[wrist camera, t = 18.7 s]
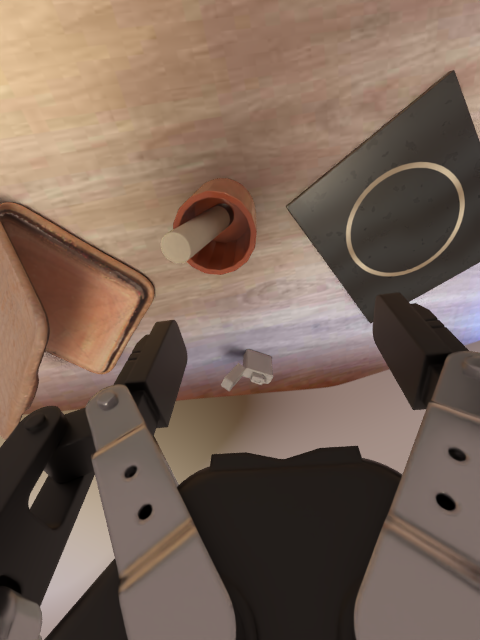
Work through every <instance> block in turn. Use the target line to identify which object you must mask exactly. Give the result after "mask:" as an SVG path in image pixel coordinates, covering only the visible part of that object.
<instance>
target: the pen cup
mask: <svg viewBox="0 0 480 640" xmlns="http://www.w3.org/2000/svg"><path fill="white" fill-rule="evenodd" d="M221 203H223V204H227V205H228V206H229V207H230V208H231V209H232V211H233V213H234V219H233V222H232V224H231V225H230V226H228V227H227V228H226V229H225V230H224V231H222V232H221V233H220V234H219V235H218V236H216V237H215V238H214V239H213V240H212V241H211V242H209V243H208V244H207V245H206V246H205V247H203V248H202V249H201V250H200V251H199V252H197V253H196V254H195V255H194V256H193V257H191V258H190V259H189V260H188V261H187V262H188V263H189V264H190V265H191V266H192V267H194V268H196V269H198V270H200V271H202V272H204V273H208V274H218V275H222V274H225V273H229V272H232V271H235V270H237V269H238V268H239V267H241V266H242V265H243V264H245V263H246V262H247V261H248V259H249V257H250V256H251V254H252V252H253V250H254V248H255V242H256V233H257V229H256V209H255V205H254V201H253V198H252V197H251V195H250V193H249V192H248V191H247V189H246V188H245V187H244V186H243V185H241V184H240V183H238V182H236V181H234V180H231V179H227V178H217V179H213V180H210V181H208V182H206V183H204V184H203V185H202V186H201V187H200V188H199V189H198V190H197V191H196V192H195V193H194V194H193V195H192V196H191V197H190V198H189V199H188V200H187V201H186V202H185V203H184V204H183V205H182V206H181V207H180V208H179V210H178V212H177V215H176V218H175V220H174V223H173V230H174V229H175V228H177V227H179V226H181V225H182V224H184V223H186V222H188V221H189V220H191V219H193V218H195V217H196V216H198V215H200V214H202V213H204V212H205V211H207V210H209V209H211V208H212V207H214V206H216V205H218V204H221Z"/></svg>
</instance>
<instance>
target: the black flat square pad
mask: <svg viewBox="0 0 480 640" xmlns="http://www.w3.org/2000/svg"><path fill="white" fill-rule="evenodd" d="M286 207H287V209H288V210H289V211H290V213H291V214H292V215H293V217H294V218H295V220H296V221H297V222H298V224H299V225H300V227H301V228H302V229H303V231H304V232H305V234H306V235H307V236H308V238H309V239H310V240H311V242H312V243H313V245H314V246H315V247H316V249H317V250H318V252H319V253H320V254H321V256H322V257H323V259H324V260H325V261H326V263H327V264H328V265H329V267H330V268H331V270H332V271H333V272H334V274H335V275H336V277H337V278H338V279H339V281H340V282H341V284H342V285H343V286H344V288H345V289H346V290H347V292H348V293H349V295H350V296H351V297H352V299H353V300H354V302H355V303H356V304H357V306H358V307H359V308H360V310H361V311H362V313H363V314H364V315H365V317H366V318H367V320H368V321H369V322H370V323H372V322H373V319H374V308H375V299H376V296H377V295H381V294H389V293H397V292H399V293H401V294H402V295H403V296H404V297H405V299H406V300H407V301H408V302H410V301H411V300H413V299H415V298H417V297H419V296H420V295H422V294H424V293H426V292H428V291H429V290H431V289H433V288H435V287H436V286H438V285H440V284H442V283H444V282H445V281H447V280H449V279H451V278H452V277H454V276H456V275H458V274H460V273H461V272H463V271H465V270H467V269H468V268H470V267H472V266H474V265H476V264H477V263H479V262H480V141H479V139H478V136H477V133H476V130H475V127H474V124H473V122H472V119H471V116H470V113H469V110H468V108H467V105H466V102H465V99H464V96H463V94H462V91H461V88H460V85H459V82H458V80H457V77H456V74H455V71H454V70H453V71H450V72H449V73H448V74H447V75H445V76H444V77H443V78H442V79H440V80H439V81H438V82H437V83H436V84H434V85H433V86H432V87H431V88H429V89H428V90H427V91H426V92H425V93H423V94H422V95H421V96H420V97H419V98H417V99H416V100H415V101H414V102H412V103H411V104H410V105H409V106H408V107H406V108H405V109H404V110H403V111H402V112H400V113H399V114H398V115H397V116H395V117H394V118H393V119H392V120H391V121H389V122H388V123H387V124H386V125H385V126H383V127H382V128H381V129H380V130H378V131H377V132H376V133H375V134H374V135H372V136H371V137H370V138H369V139H367V140H366V141H365V142H364V143H363V144H361V145H360V146H359V147H358V148H357V149H355V150H354V151H353V152H352V153H350V154H349V155H348V156H347V157H346V158H344V159H343V160H342V161H341V162H340V163H338V164H337V165H336V166H335V167H333V168H332V169H331V170H330V171H329V172H327V173H326V174H325V175H324V176H323V177H321V178H320V179H319V180H318V181H316V182H315V183H314V184H313V185H312V186H310V187H309V188H308V189H307V190H305V191H304V192H303V193H302V194H301V195H299V196H298V197H297V198H296V199H295V200H293V201H292V202H291V203H290V204H288V205H287V206H286Z"/></svg>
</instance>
